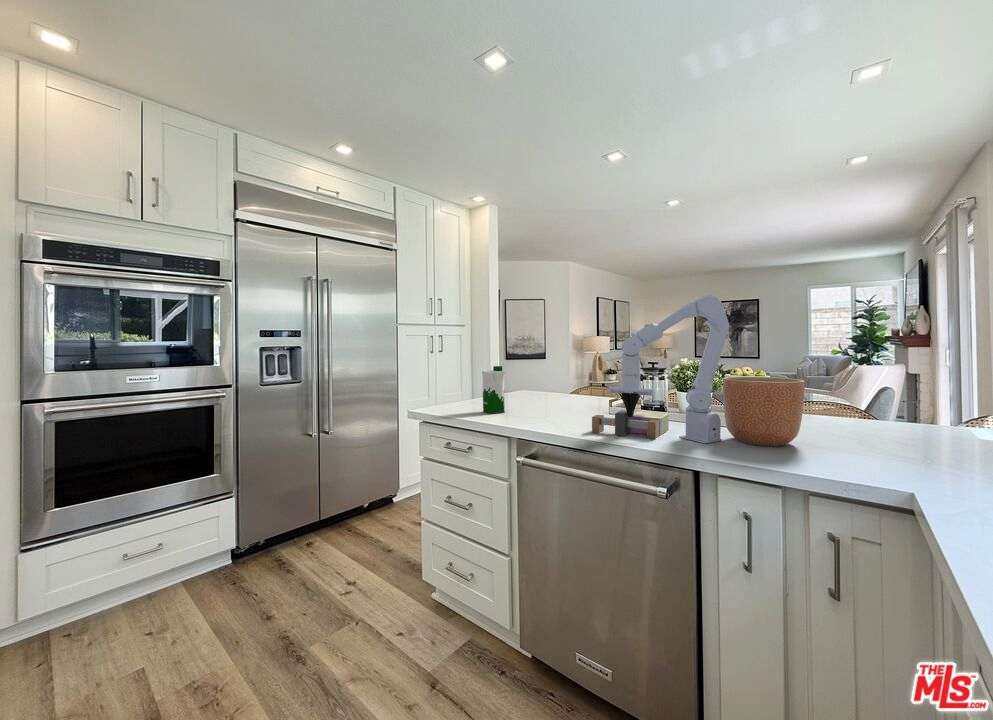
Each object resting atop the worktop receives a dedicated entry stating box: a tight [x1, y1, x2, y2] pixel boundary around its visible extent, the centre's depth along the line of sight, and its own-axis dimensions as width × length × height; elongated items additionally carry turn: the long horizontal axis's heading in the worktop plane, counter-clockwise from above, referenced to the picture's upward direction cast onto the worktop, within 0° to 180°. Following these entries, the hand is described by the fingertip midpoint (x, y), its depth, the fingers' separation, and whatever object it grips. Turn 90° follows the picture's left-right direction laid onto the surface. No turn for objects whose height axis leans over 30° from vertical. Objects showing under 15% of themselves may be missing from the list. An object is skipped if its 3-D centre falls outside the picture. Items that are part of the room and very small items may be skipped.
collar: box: [614, 409, 631, 437], centre depth 143 cm, size 3×7×7 cm, turn 148°
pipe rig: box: [591, 414, 659, 440], centre depth 142 cm, size 20×5×5 cm, turn 58°
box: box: [629, 410, 670, 436], centre depth 147 cm, size 10×6×12 cm
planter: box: [722, 376, 806, 447], centre depth 130 cm, size 21×21×19 cm
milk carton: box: [481, 365, 506, 415], centre depth 189 cm, size 9×9×20 cm
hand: (630, 416), depth 141 cm, fingers closed
